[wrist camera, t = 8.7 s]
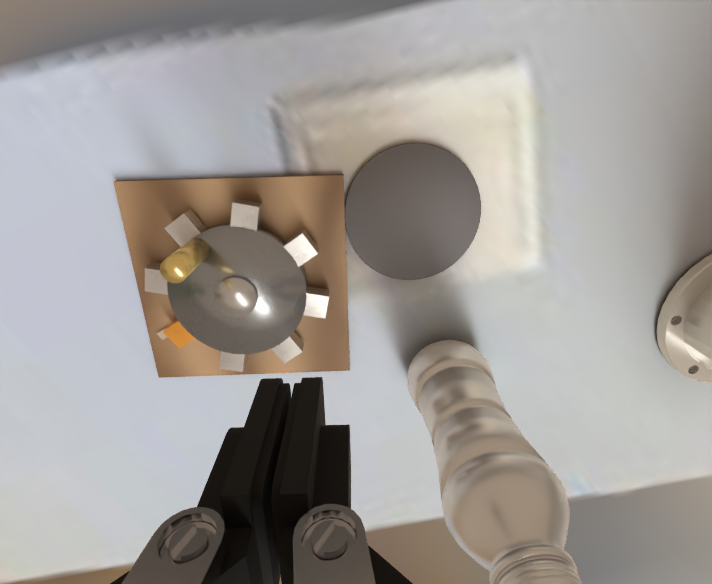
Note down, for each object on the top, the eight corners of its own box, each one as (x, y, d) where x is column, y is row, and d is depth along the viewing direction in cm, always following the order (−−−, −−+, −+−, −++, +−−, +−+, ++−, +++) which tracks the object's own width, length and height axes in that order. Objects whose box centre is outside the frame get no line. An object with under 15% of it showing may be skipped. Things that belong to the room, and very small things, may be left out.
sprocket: (183, 167, 29) (143, 178, 23) (357, 245, 31) (361, 273, 26) (133, 325, 33) (89, 367, 28) (290, 383, 36) (280, 433, 30)
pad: (484, 141, 30) (487, 141, 29) (473, 275, 33) (475, 277, 33) (342, 144, 30) (342, 145, 29) (346, 279, 33) (346, 281, 33)
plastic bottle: (397, 339, 35) (459, 578, 17) (477, 322, 35) (630, 548, 17) (410, 401, 38) (476, 671, 19) (485, 386, 37) (626, 646, 19)
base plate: (343, 174, 30) (343, 175, 30) (349, 367, 36) (349, 371, 36) (116, 180, 30) (111, 182, 29) (161, 374, 36) (157, 378, 35)
